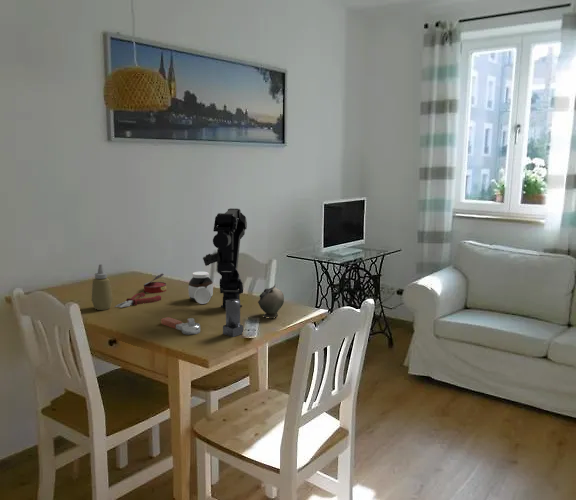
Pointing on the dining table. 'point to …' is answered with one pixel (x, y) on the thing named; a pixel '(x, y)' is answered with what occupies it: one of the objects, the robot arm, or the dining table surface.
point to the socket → (232, 318)
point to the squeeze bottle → (101, 290)
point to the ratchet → (182, 325)
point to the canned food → (155, 286)
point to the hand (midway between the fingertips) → (225, 286)
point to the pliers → (138, 300)
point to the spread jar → (200, 287)
